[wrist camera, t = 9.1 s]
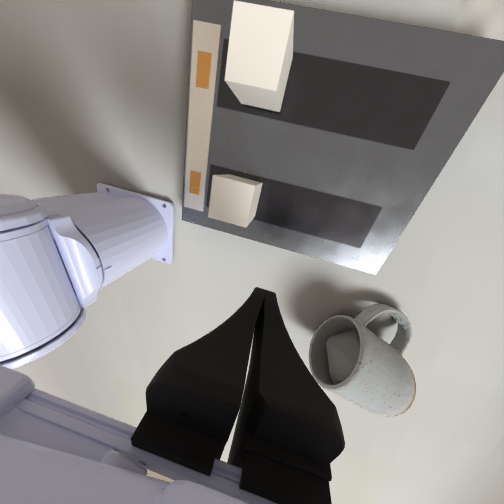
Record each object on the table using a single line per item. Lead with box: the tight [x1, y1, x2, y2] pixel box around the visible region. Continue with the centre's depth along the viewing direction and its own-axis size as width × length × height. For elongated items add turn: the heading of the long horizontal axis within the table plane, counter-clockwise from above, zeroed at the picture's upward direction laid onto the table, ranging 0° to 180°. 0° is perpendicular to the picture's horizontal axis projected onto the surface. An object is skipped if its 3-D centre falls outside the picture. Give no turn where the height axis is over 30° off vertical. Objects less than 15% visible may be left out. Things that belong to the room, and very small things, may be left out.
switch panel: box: [182, 0, 504, 275], centre depth 15 cm, size 20×16×2 cm
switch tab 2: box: [208, 174, 263, 228], centre depth 14 cm, size 3×3×4 cm
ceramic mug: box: [309, 304, 416, 416], centre depth 19 cm, size 11×8×8 cm
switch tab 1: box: [225, 0, 294, 112], centre depth 11 cm, size 3×3×4 cm
